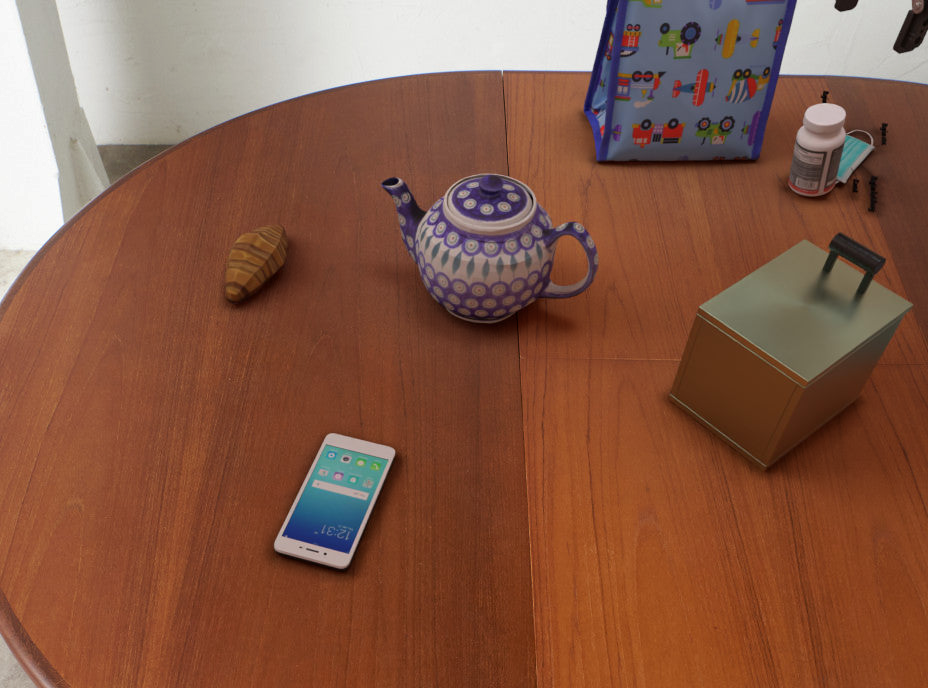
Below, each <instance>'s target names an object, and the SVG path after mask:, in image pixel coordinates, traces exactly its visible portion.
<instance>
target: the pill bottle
mask: <svg viewBox="0 0 928 688" xmlns="http://www.w3.org/2000/svg"><path fill="white" fill-rule="evenodd" d="M846 118H847V112H846V110H845V109H844V108H843V107H842V106H841V105H839V104H834V103H829V102H827V103H822V102H821V103H817V104H813V105H811V106H808V108H807V109H806V110H805V112H804V116H803V119H802V124H803V125H802V126H801V127H800V128H799V129H798V130H797V133H796V138H795V140H794V141H795V142H794V146H793V147H794V148H793V154H792V160H791V164H790V168H789V169H790V170H789V175H788V186H789V189H791V190H792V191H793V192H794V193H795V194H797V195H800V196H804V197H819V196H823V195H826V194H827V193H829V192H831V191H832V190H833V189H834V188H835V186H836V184H837V183H836V182H837V180H836V179H837V174H838V170H839V166H840V161H841V157H842V152H843V148H844V143H845V138H846V129H845V128H844V125H845V123H846ZM835 183H836V184H835Z"/></svg>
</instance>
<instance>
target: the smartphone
mask: <svg viewBox="0 0 928 688" xmlns="http://www.w3.org/2000/svg"><path fill="white" fill-rule="evenodd" d="M395 461H396V450H395V449H394V448H393V447H392V446H388V445H384V444H379V443H376V442H371V441H367V440H363V439H359V438H356V437H352V436H346V435H344V434H343V435H342V434H339V433H334V432H331V433H328V434H327V435H326V436H325V438H324V440H323V442H322V444H321V446H320V448H319V450H318V452H317V454H316V456H315V458H314V460H313V463H311V467H310V468H309V470H308V473H307V474H306V476H305V478H304V480H303V483H302V485H301V487H300V489H299V491H298V493H297V495H296V497H295V498H294V502H293V503H292V505H291V507H290V509H289V512H288V514H287V516H286V518H285V520H284V522H283V524H282V526H281V528H280V530H279V531H278V535H277V536H276V538H275V541H274V543H273V549H274V552H275V553H276V554H277V555H279V556H283V557H286V558H290V559H294V560H297V561H302V562H305V563H308V564H312V565H316V566H320V567H323V568H327V569H331V570H333V571H338V572H346V571H348V570H349V568H350V567H351V565H352V563H353V560H354V558H355V556H356V553H357V550H358V548H359V546H360V544H361V542H362V540H363V536H364V534H365V532H366V530H367V528H368V525H369V522H370V520H371V517H372V515H373V513H374V510H375V508H376V505H377V503H378V500H379V499H380V496H381V493H382V491H383V488H384V486H385V485H386V482H387V479H388V476H389V474H390V472H391V469H392V467H393V465H394V462H395Z"/></svg>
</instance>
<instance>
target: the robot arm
mask: <svg viewBox="0 0 928 688" xmlns="http://www.w3.org/2000/svg"><path fill="white" fill-rule="evenodd" d="M834 1H835V3H834V4H833V5H834V6H833V8H834V9H835V10H837V12H839V13H843V12H848V11H852V10H854V9H855V8H856V7H857V5H858V3H859V1H860V0H834ZM927 33H928V0H911V9H909V10H908V11H907V14H906V16H905V18H904V21H903V23H902V25H901V27H900V30H899V32H898V33H897V37H896V39H895V41H894V43H893V46H892V51H894V52H895V53H897V54H899V55H900V54H901V55H902V54H905V53H906V54H907V53H910V52H913V51H914V50H915V49H917V48H919V47H920V46H921V45H922V44H923V42H924V39H925V38H926V35H927Z"/></svg>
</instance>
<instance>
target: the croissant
mask: <svg viewBox="0 0 928 688" xmlns="http://www.w3.org/2000/svg"><path fill="white" fill-rule="evenodd" d="M288 248H289V242H288V236H287V232H286V229H285V226H283V225H281V224H267V225H263V226H261V227H260V226H259V227H258V228H255V229H253V230H252V231H250V232H245V233H242V234H241V236H239V237H238V238H237V239H236V241H235V242H234V244H233V245H232V246H231V248H230V249H229V253H228V257H227V261H226V265H227V268H226V269H225V271H224V275H223V277H224V292H225V298H226V300H227V302H229V303H230V304H233V305H239V304H240V303H243V302H244V301H246V300H248V299H249V298H251V297H252V296H253V295H255V294H256V293H258V292H259V291H260V290H261V288H262V287H263V286H264V285H265V284H266V283H267V282H269V281H270V280H271V279H272V278H273V277H274V275H276V274H277V273H278V272H279V270H280V269H281V268H282V266H283V265H284V264H285V260H286V258H287V256H288V254H287V249H288Z"/></svg>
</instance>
